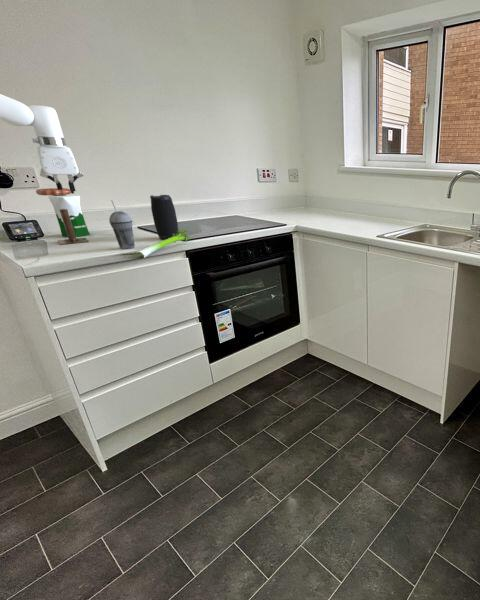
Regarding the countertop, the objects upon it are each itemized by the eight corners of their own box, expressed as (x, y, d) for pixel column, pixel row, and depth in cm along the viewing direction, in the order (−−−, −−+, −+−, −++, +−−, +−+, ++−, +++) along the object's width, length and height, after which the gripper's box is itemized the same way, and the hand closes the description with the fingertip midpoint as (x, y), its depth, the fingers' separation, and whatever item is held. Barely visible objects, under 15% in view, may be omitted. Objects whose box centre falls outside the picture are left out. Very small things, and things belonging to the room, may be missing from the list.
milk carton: (77, 233, 169) (64, 190, 161) (93, 234, 167) (81, 190, 160) (58, 236, 161) (43, 191, 153) (75, 237, 159) (61, 192, 152)
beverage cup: (142, 250, 143) (130, 199, 136) (122, 253, 137) (108, 201, 130) (133, 247, 147) (121, 198, 139) (113, 250, 141) (99, 199, 133)
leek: (132, 261, 133) (179, 239, 160) (150, 264, 134) (194, 242, 161) (129, 246, 131) (177, 226, 158) (148, 249, 131) (193, 229, 158)
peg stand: (61, 247, 143) (49, 211, 138) (58, 243, 149) (47, 208, 143) (89, 244, 149) (79, 209, 144) (86, 240, 155) (76, 207, 149)
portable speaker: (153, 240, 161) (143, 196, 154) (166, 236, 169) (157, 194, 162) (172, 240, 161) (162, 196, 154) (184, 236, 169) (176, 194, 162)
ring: (37, 196, 130) (35, 190, 129) (36, 193, 136) (34, 188, 135) (73, 194, 136) (71, 189, 136) (70, 192, 143) (68, 187, 142)
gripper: (22, 141, 124) (40, 195, 131) (81, 144, 135) (95, 193, 142) (21, 141, 129) (39, 193, 136) (79, 144, 140) (92, 192, 147)
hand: (67, 193), depth 139 cm, fingers closed on ring, 2 cm apart
